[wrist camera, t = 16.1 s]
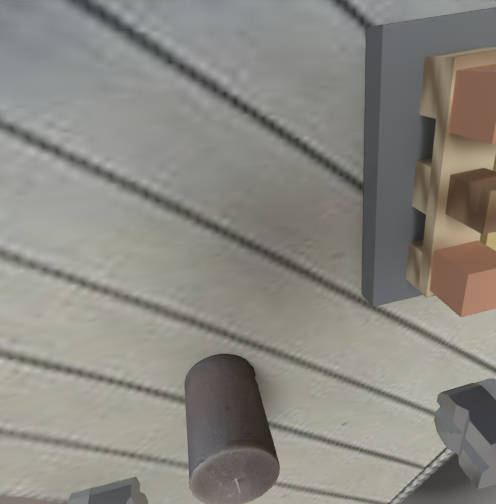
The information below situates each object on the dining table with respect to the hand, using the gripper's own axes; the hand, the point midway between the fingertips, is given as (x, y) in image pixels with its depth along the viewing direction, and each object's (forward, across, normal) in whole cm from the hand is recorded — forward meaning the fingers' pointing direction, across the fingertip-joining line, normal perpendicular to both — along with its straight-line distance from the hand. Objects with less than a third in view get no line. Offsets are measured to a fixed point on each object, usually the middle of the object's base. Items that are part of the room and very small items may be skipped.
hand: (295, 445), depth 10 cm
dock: (+31, -24, +6) cm, 40 cm away
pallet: (+28, -24, +6) cm, 38 cm away
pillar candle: (+31, +3, +30) cm, 44 cm away
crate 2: (+24, -24, +14) cm, 37 cm away
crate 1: (+24, -24, -3) cm, 34 cm away
